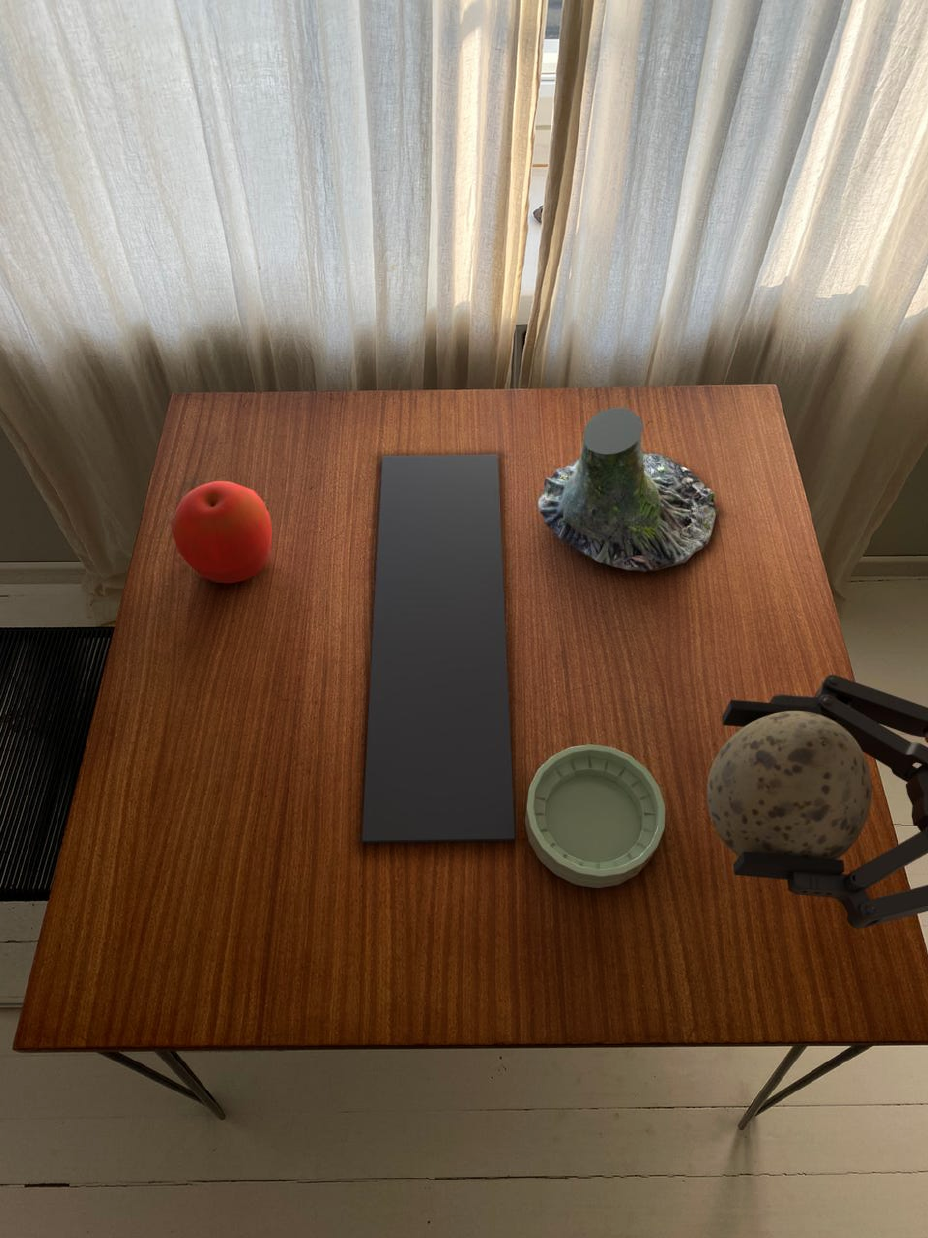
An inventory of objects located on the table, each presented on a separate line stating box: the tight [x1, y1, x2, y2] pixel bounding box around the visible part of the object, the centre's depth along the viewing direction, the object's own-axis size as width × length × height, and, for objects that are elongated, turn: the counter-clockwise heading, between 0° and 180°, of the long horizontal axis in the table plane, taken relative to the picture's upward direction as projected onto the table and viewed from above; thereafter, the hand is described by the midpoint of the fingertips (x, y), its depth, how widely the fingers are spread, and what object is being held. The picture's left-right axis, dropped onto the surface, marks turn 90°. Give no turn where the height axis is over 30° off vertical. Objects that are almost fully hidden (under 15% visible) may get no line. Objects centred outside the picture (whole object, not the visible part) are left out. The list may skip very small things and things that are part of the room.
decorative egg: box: [706, 711, 872, 860], centre depth 62 cm, size 11×11×15 cm
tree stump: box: [537, 406, 718, 573], centre depth 95 cm, size 18×20×18 cm
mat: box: [361, 454, 516, 844], centre depth 93 cm, size 48×14×1 cm, turn 1°
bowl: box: [524, 744, 666, 889], centre depth 79 cm, size 12×12×4 cm
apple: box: [170, 480, 273, 584], centre depth 93 cm, size 10×10×12 cm
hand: (732, 784), depth 62 cm, fingers closed on decorative egg, 11 cm apart
